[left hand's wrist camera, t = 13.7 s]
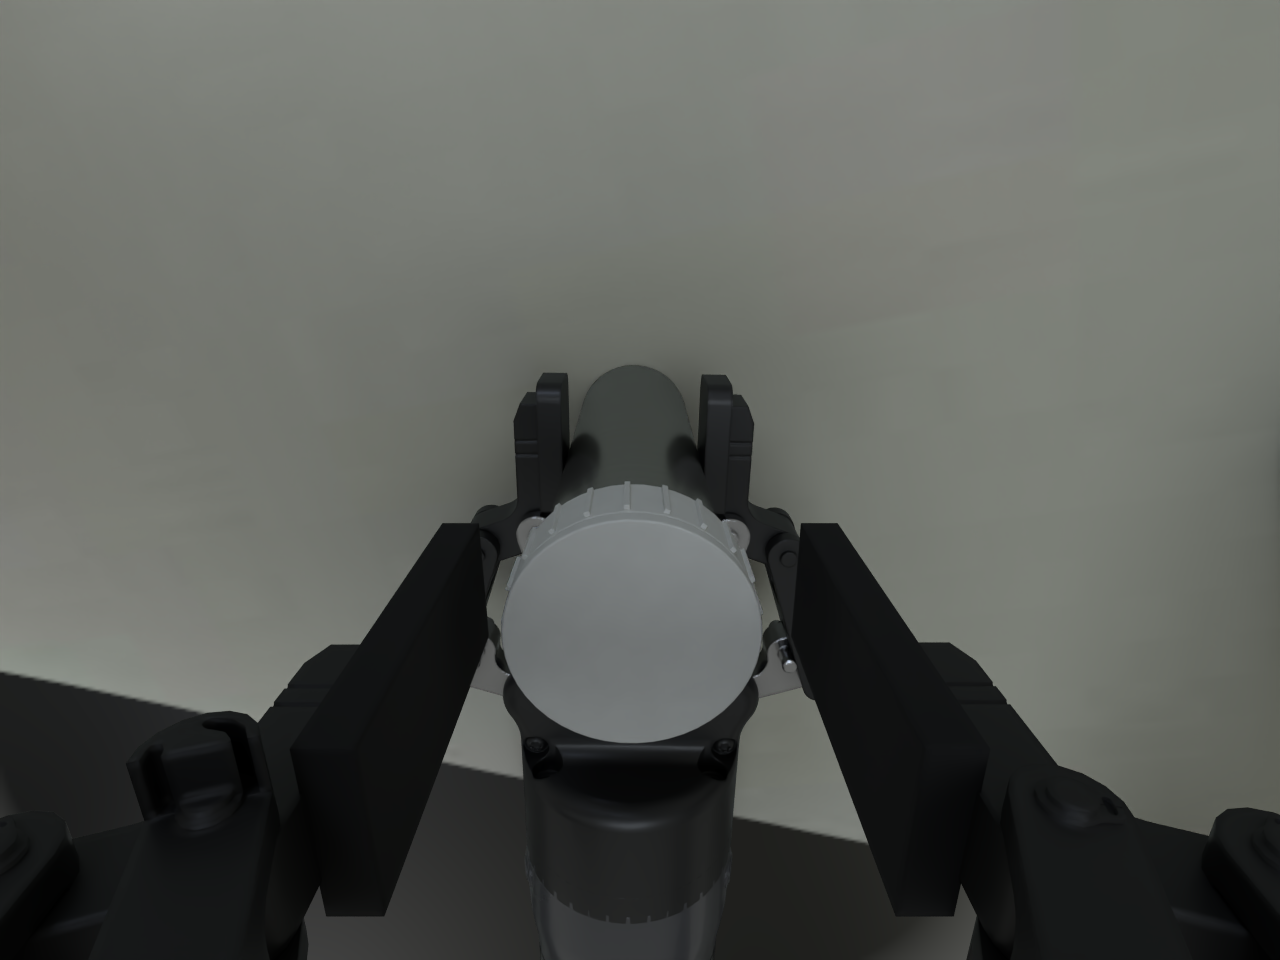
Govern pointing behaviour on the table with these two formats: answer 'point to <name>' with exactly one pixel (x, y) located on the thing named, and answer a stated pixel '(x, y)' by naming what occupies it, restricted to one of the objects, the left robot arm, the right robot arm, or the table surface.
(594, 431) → the metal cylinder tube
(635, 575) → the lid
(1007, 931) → the left robot arm
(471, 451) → the table surface
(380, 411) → the table surface
